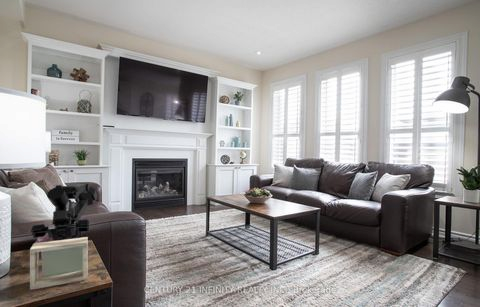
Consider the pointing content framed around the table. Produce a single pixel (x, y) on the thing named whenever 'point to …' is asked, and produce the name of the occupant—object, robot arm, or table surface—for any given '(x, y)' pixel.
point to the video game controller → (44, 239)
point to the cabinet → (60, 278)
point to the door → (62, 261)
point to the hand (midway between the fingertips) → (60, 248)
